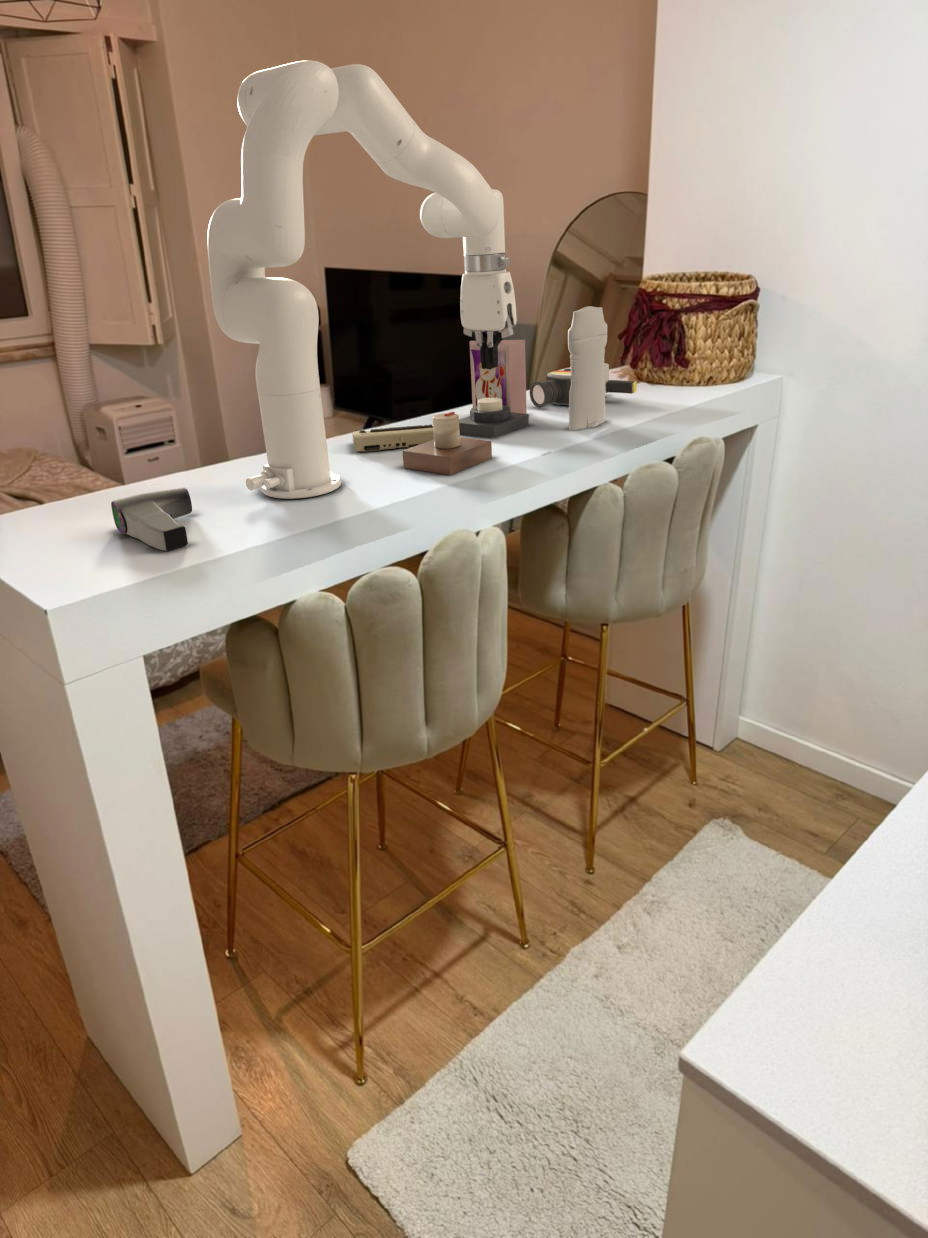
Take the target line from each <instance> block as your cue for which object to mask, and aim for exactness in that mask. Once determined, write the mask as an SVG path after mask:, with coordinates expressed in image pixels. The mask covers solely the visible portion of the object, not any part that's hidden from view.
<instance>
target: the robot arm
mask: <svg viewBox="0 0 928 1238" xmlns="http://www.w3.org/2000/svg"><path fill="white" fill-rule="evenodd" d="M236 101H237V109H238V112H239V115H240V117H241V119H242V121H243V122H244V125H246V128H245V132H244V135H243V139H242V144H241V152H240V153H241V155H240V166H241V167H240V168H241V175H240V176H241V177H240V178H241V196H240V197H236V198H231V199H228V200H225V201H223V202H222V203H220V204H219V205H217V207H216V209H215V210H214V211H213V213H212V215H211V217H210V220H209V223H208V228H207V236H206V237H207V240H206V241H207V255H208V270H209V280H210V281H209V282H210V292H211V301H212V302H211V303H212V310H213V314H214V318H215V321H216V323H217V325H218V327H219V329H220V330H221V331H222V333H224V335H226V336H227V337H228V338H230V339H231V340H233V341H236V342H240V343H245V344H255V345H259V346H258V353H257V357H256V361H255V373H254V375H255V385H256V392H257V397H258V402H259V403H258V404H259V410H260V418H261V425H262V431H263V439H264V447H265V452H266V460H267V464H264V465H262V468H263V471H261V472H260V473H259V475H258V474H257V475H254V476H250V477H247V478H246V479H245V486H246V488H247V489H248V490H249V491H253V490H257V489H259V488H261V492H262V493H263V494H264V495H266V496H268V497H270V498H274V499H275V498H276V499H290V500H291V499H293V500H294V499H305V498H306V499H307V498H312V497H313V498H314V497H317V496H322V495H325V494H329V493H331V492H333V491H335V490H337V489H338V488H340V487H341V485H342V479H341V476H340V475H339V474H338V473H335V472H333V471H331V468H330V460H329V452H328V444H327V435H326V433H327V432H326V426H325V418H324V408H323V407H324V406H323V399H322V392H321V391H322V390H321V383H320V375H319V374H320V373H319V363H318V335H319V323H320V322H319V321H320V316H319V308H318V304H317V301H316V299H315V297H314V295H313V294H312V291H310V290H309V288H308V287H306V285H304V284H302V283H301V282H299V281H297V280H294V279H291V278H286V277H275V276H274V277H266V268H267V269H268V268H269V269H270V268H282V267H288V266H289V267H290V266H292V265H294V264H296V263H297V262H298V261H299V260H300V259H301V258H302V255H303V254H304V250H305V246H306V245H305V243H306V227H305V225H306V224H305V206H304V205H305V204H304V161H305V155H306V152H307V150H308V147H309V144H310V143H311V141H312V139H313V138H314V136H321V135H329V134H337V133H343V132H347V133H349V134H350V135H352V137H353V138H354V139H355V140H356V141H357V143H358V144H359V145H360V146H361V147H362V148H363V149H364V150H365V152H366V153H367V154H368V155H369V156H370V157H371V159H372V160H373V161H374V162H375V163H376V165H377V166H378V167H379V168H380V169H381V170H382V172H383V173H384V174H385V175H386V176H388V177H390V178H392V179H394V180H396V181H398V182H402V183H404V184H407V185H409V186H414V187H417V188H421V189H425V190H428V191H430V192H433V193H431V194H430V195H428V196H427V197H426V198H425V199H424V200H423V202H422V203H421V206H420V209H419V219H420V222H421V225H422V227H423V228H424V230H425V231H426V232H427V233H428V234H429V235H431V236H433V237H436V238H439V239H459V238H462V247H463V248H462V249H463V265H464V273H462V276H461V285H460V297H459V299H460V302H459V303H460V304H459V305H460V306H459V307H460V321H461V326H462V327H463V334H464V335H465V336H468V337H471V338H473V341H476V342H477V346H478V347H480V358H481V367H482V369H492V368H496V367H497V366H498V345H500V342H501V341H502V340H504V338H508V337H512V336H513V335H514V329H513V328H514V327H515V326H516V325H517V304H516V295H515V288H514V282H513V278H512V275H511V272H510V271H507V267H508V266H510V265H511V258H510V257H506V255H507V254H506V240H505V239H506V238H505V236H506V235H505V209H504V208H505V207H504V206H505V205H504V196H503V193H502V192H501V191H500V190H498V189H495V188H491V186H490V185H489V183H488V182H487V180H486V179H485V178H484V176H483V175H482V173H480V171H479V170H478V169H477V168H476V166H475V165H473V164H472V163H471V162H470V161H469V160H468V159H466V158H465V157H464V156H462V155H461V154H459V153H458V152H456V151H454V150H453V149H451V148H449V147H447V146H446V145H444V144H442V143H441V142H440V141H438V140H436V139H435V138H433V137H431V136H430V135H427V134H426V133H425V132H424V131H422V129H421V128H420V126H419V125H418V124H417V122H416V121H415V120H414V119H413V118H412V117H411V115H410V114H409V112H408V111H407V110H406V108H405V107H404V106H403V105H402V104H401V102H400V101H399V100H398V98H397V96H396V95H394V93H393V92H392V90H391V89H390V87H388V85H387V83H385V82H384V80H383V79H382V78H381V77H380V75H379V74H378V73H377V72H376V71H375V70H374V69H372V68H371V67H369V66H368V65H365V64H361V63H353V64H352V63H351V64H347V65H342V66H336V67H332V68H330V67H329V66H328V65H327V64H325V63H323V62H320V61H317V60H311V59H310V60H306V59H305V60H299V61H294V62H289V63H286V64H282V65H278V66H274V67H270V68H265V69H261V70H258V71H255V72H253V73H251V74H249V75H248V76H246V77H245V78H244V79H243V81H242V82H241V83H240V86H239V88H238V92H237V100H236Z"/></svg>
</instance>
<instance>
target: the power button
mask: <svg viewBox="0 0 928 1238" xmlns="http://www.w3.org/2000/svg"><path fill="white" fill-rule="evenodd" d="M477 405H478V411H482V412H493V411H500V410H502V399H500V398H483V399H479V400H478V401H477Z"/></svg>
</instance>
